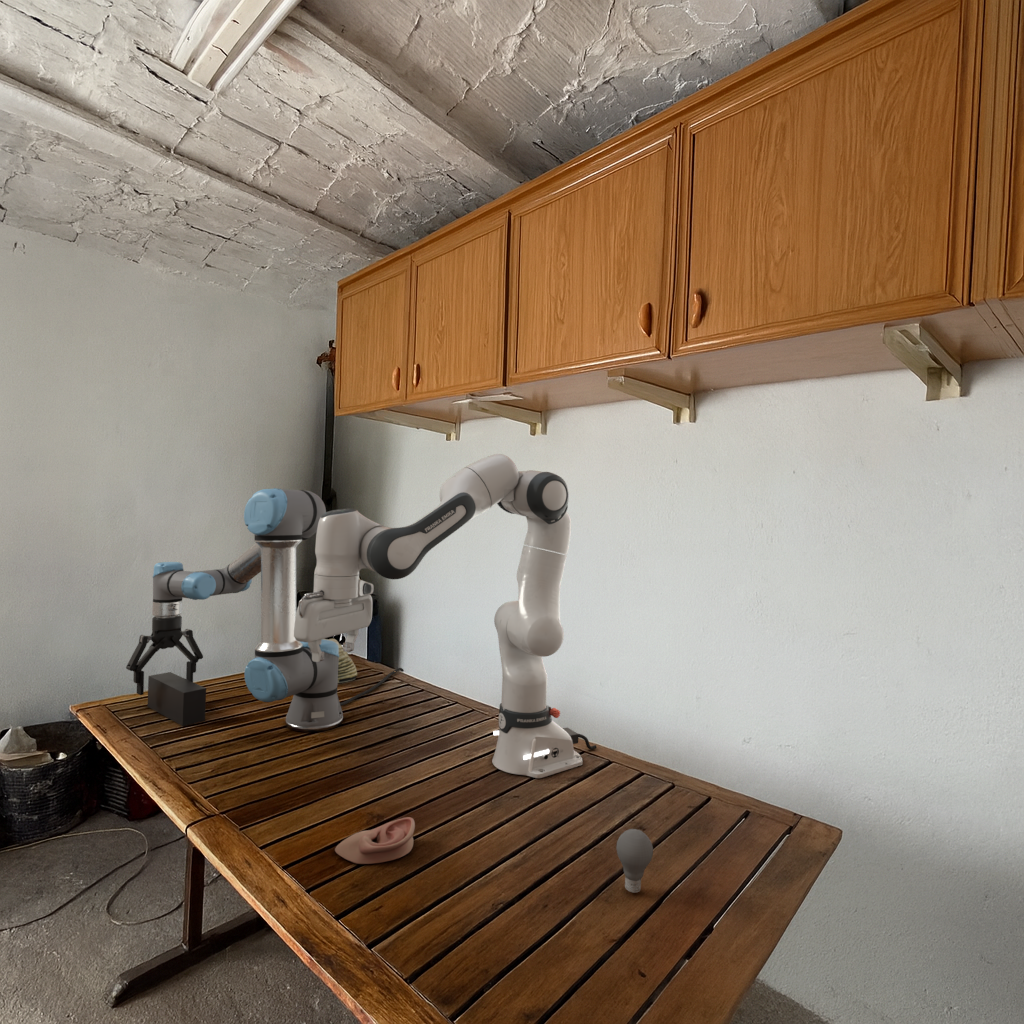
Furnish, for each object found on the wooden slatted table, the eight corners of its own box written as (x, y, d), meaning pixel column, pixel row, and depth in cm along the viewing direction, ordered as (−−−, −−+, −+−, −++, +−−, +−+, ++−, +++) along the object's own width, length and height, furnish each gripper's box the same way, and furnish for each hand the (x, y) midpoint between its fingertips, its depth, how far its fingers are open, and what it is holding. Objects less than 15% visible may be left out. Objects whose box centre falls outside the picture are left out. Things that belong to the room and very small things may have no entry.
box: (147, 706, 183) (148, 675, 183) (169, 702, 188) (170, 671, 188) (182, 726, 170) (183, 692, 169) (205, 720, 174) (206, 688, 174)
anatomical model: (327, 836, 111) (356, 806, 122) (326, 858, 111) (355, 826, 122) (398, 848, 108) (421, 815, 119) (397, 871, 108) (420, 836, 119)
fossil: (297, 682, 213) (299, 637, 212) (348, 673, 225) (349, 631, 225) (308, 688, 206) (310, 642, 206) (360, 679, 218) (361, 636, 218)
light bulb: (610, 879, 108) (613, 822, 108) (644, 879, 109) (647, 822, 109) (619, 902, 102) (622, 840, 102) (655, 901, 103) (658, 840, 103)
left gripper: (124, 623, 171) (123, 701, 171) (216, 612, 190) (214, 682, 191) (114, 619, 175) (112, 695, 176) (204, 609, 195) (202, 677, 195)
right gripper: (313, 596, 118) (310, 669, 118) (378, 584, 137) (375, 648, 137) (287, 592, 120) (284, 664, 121) (354, 581, 139) (352, 644, 139)
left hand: (165, 689), depth 183 cm, fingers open, 13 cm apart
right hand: (333, 656), depth 129 cm, fingers open, 8 cm apart
